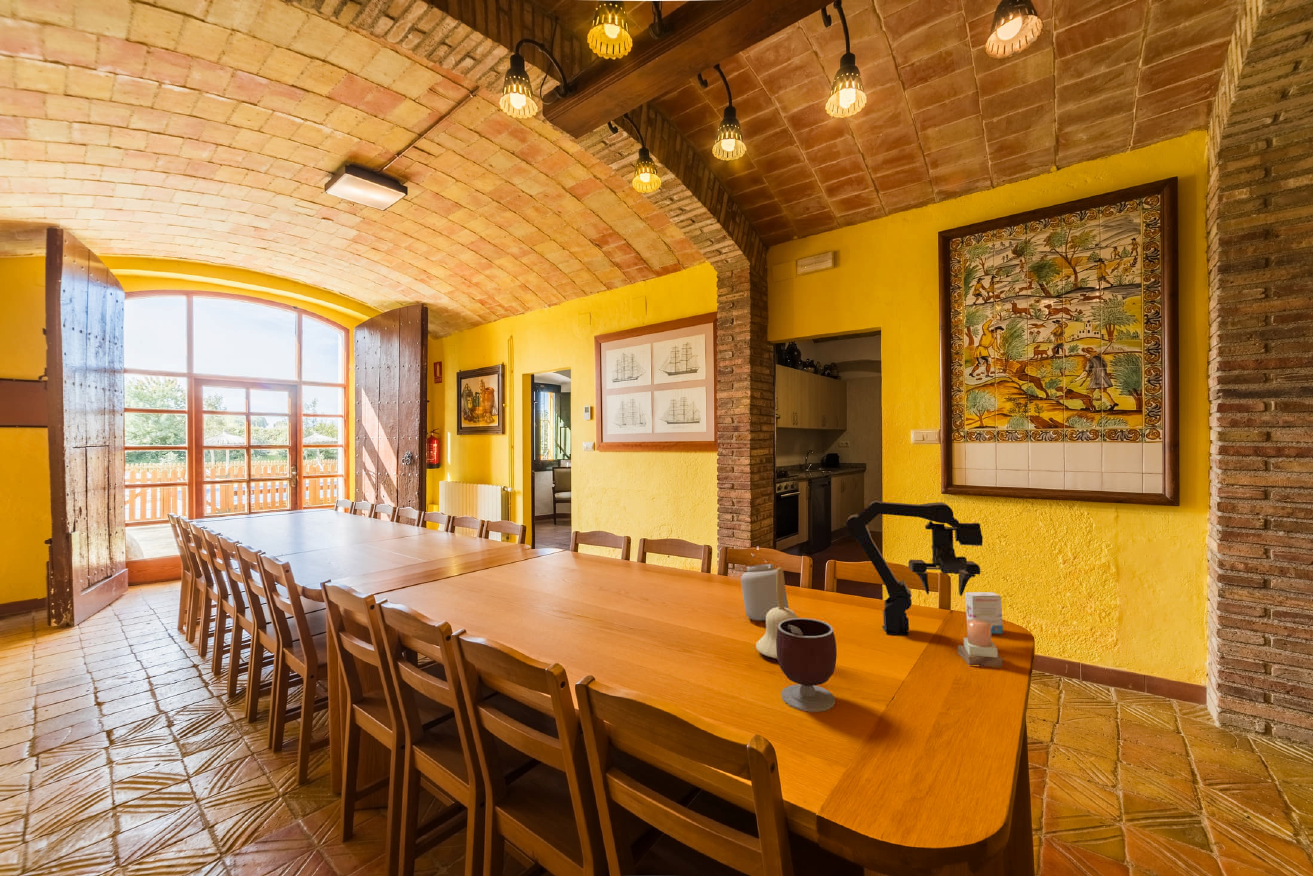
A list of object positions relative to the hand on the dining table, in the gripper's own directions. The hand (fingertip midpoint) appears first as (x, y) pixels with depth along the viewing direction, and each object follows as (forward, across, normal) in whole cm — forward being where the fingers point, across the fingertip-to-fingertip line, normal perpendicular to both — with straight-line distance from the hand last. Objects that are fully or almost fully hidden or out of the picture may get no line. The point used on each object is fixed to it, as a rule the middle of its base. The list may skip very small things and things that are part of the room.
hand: (944, 594), depth 159 cm
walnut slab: (+13, +4, -17) cm, 22 cm away
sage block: (+10, +4, -17) cm, 20 cm away
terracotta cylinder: (+8, +4, -18) cm, 20 cm away
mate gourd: (+14, -44, -47) cm, 65 cm away
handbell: (+14, -49, -20) cm, 54 cm away
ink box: (+13, +13, +7) cm, 20 cm away
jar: (+14, -55, +10) cm, 58 cm away
